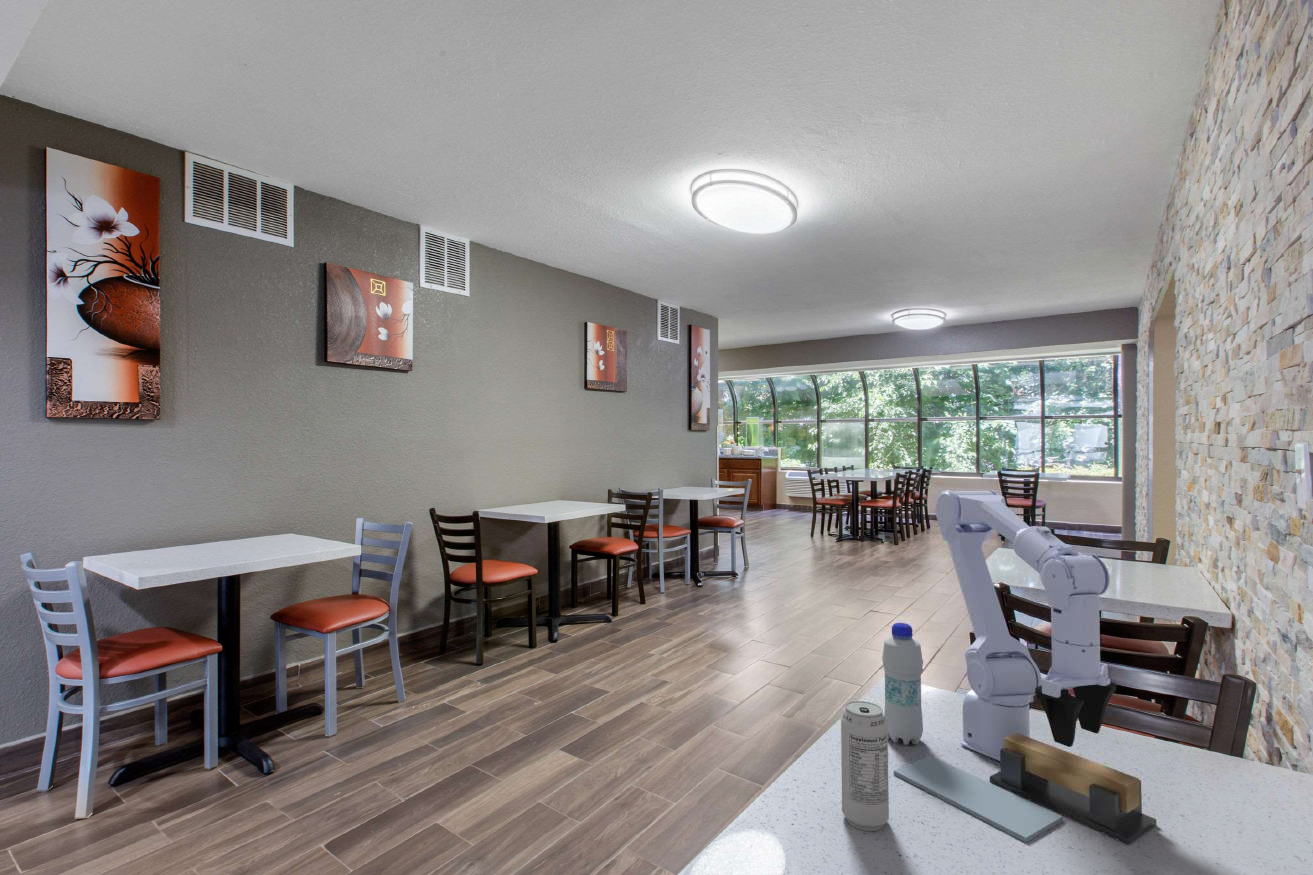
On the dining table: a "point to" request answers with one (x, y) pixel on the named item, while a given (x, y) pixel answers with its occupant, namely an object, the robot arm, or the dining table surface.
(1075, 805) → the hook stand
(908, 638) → the bottle
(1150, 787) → the dining table surface
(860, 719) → the energy drink can
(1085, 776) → the oak rail
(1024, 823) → the mat
